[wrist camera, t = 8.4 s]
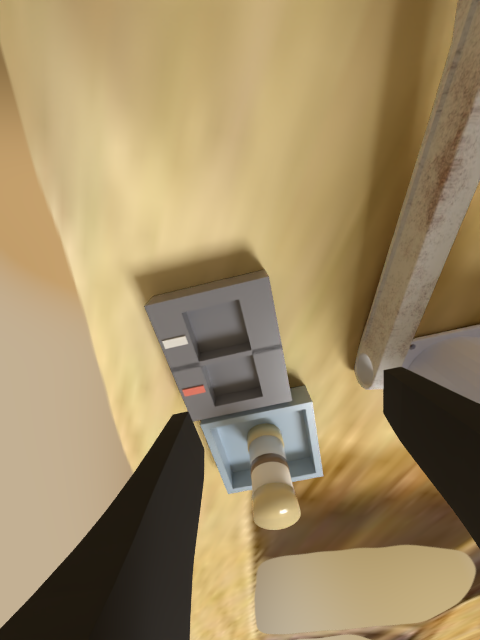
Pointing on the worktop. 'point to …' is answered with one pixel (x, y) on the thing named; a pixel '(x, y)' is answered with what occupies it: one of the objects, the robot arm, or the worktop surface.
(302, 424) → the parts tray
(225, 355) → the fuse block
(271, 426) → the cylinder
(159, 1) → the worktop surface
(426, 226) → the wrench
